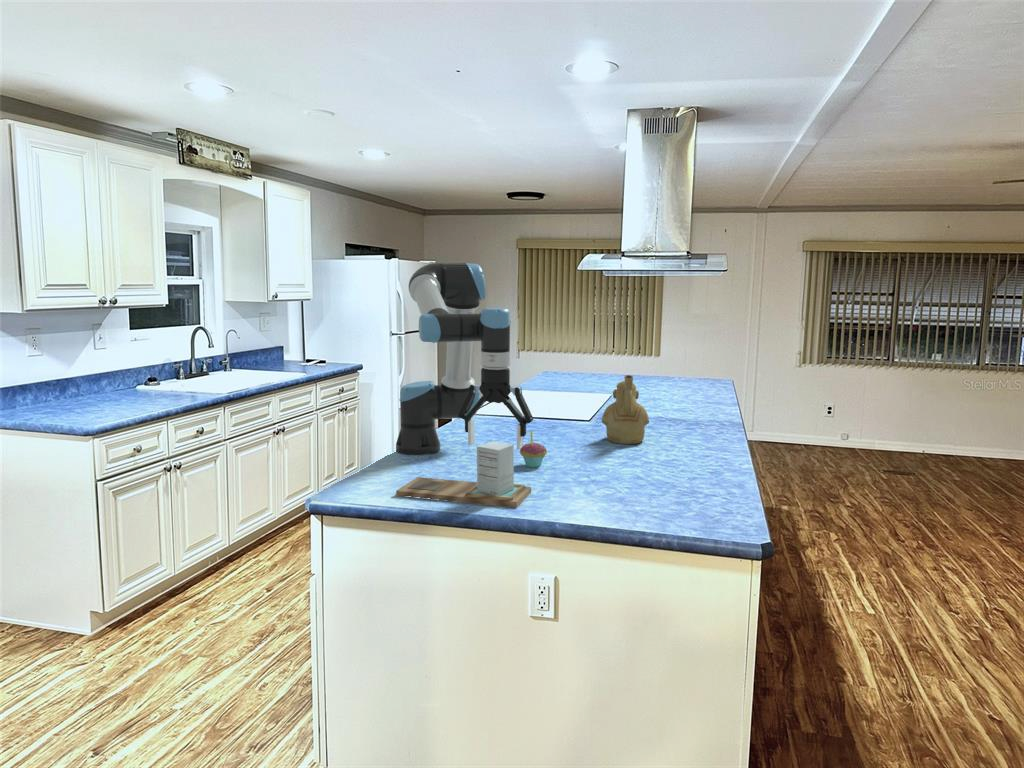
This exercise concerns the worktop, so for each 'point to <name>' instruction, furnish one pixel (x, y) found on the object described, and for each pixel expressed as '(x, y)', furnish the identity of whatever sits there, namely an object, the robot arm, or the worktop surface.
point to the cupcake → (533, 453)
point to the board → (462, 492)
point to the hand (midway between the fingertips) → (495, 446)
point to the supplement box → (495, 468)
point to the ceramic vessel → (625, 415)
